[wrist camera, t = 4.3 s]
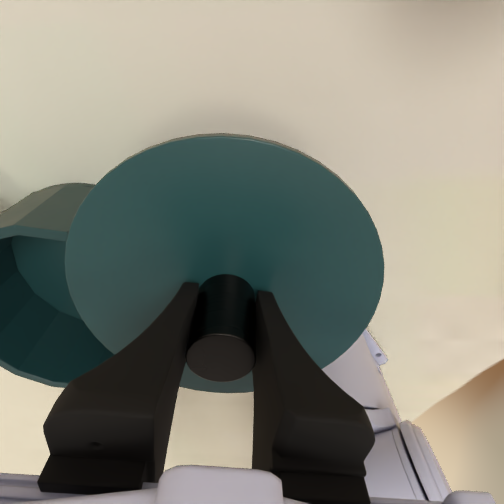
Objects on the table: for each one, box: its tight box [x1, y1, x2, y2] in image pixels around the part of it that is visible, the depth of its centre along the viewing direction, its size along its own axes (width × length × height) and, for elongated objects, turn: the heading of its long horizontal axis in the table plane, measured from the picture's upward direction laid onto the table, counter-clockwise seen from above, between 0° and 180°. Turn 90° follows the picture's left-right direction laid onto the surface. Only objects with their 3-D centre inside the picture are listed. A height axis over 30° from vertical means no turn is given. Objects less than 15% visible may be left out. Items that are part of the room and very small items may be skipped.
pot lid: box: [65, 133, 384, 393], centre depth 14 cm, size 14×14×5 cm
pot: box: [0, 183, 115, 388], centre depth 23 cm, size 13×19×6 cm
